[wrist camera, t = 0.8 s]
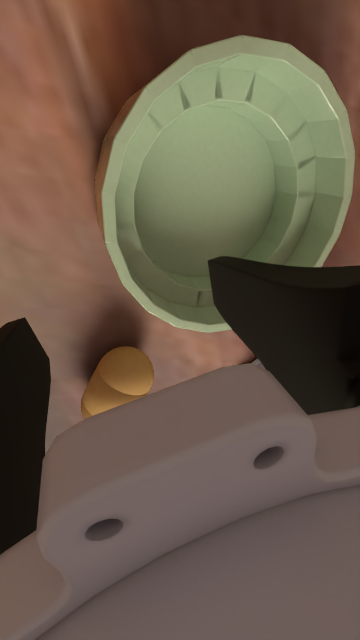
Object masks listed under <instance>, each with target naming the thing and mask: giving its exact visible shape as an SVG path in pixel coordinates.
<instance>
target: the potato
mask: <svg viewBox="0 0 360 640" xmlns="http://www.w3.org/2000/svg"><path fill="white" fill-rule="evenodd" d="M153 378H154V370H153V366H152V363H151V361H150V359H149V358H148V356H147V355H146V354H145V353H143V352H142V351H141V350H139V349H137V348H134V347H129V346H123V347H118V348H115V349H113V350H111V351H109V352H107V353H106V354H105V355H104V356H103V357H102V359H101V360H100V362H99V364H98V366H97V368H96V370H95V372H94V374H93V376H92V378H91V380H90V382H89V384H88V386H87V388H86V390H85V392H84V394H83V397H82V400H81V411H82V415H83V418H84V419H86V418H88V417H91V416H93V415H96V414H99V413H101V412H104V411H107V410H109V409H112V408H115V407H117V406H120V405H123V404H125V403H128V402H131V401H133V400H136V399H139V398H141V397H144V396H146V395H147V393H148V392H149V390H150V388H151V385H152V383H153Z"/></svg>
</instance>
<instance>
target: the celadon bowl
mask: <svg viewBox="0 0 360 640" xmlns="http://www.w3.org/2000/svg"><path fill="white" fill-rule="evenodd" d="M346 110H347V109H346V107H345V105H344V103H343V102H342V100H341V98H340V96H339V95H338V93H337V91H336V89H335V87H334V86H333V84H332V82H331V80H330V79H329V77H328V75H327V73H326V72H325V70H324V69H322V68H321V67H320V66H319V65H317V64H316V63H315V62H313V61H312V60H311V59H309V58H308V57H307V56H305V55H304V54H303V53H302V52H300V51H299V50H298V49H296V48H295V47H294V46H292V45H291V44H288V43H286V42H280V41H275V40H270V39H264V38H259V37H253V36H248V35H237V36H234V37H230V38H227V39H223V40H220V41H217V42H213V43H210V44H206V45H203V46H199V47H196V48H192V49H191V50H188V51H187V52H186V53H184V54H183V55H182V56H181V57H179V58H178V59H177V60H176V61H174V62H173V63H172V64H171V65H169V66H168V67H167V68H165V69H164V70H163V71H162V72H160V73H159V74H158V75H157V76H155V77H154V78H153V79H152V80H151V81H149V82H148V83H147V84H146V85H144V86H143V87H142V88H141V89H140V90H138V91H137V92H136V93H135V94H133V95H132V96H131V97H130V98H129V99H128V100H127V101H126V102H125V103H124V105H123V107H122V109H121V110H120V112H119V114H118V115H117V117H116V119H115V120H114V122H113V124H112V125H111V127H110V129H109V131H108V132H107V134H106V136H105V137H104V140H103V143H102V148H101V152H100V157H99V161H98V166H97V171H96V175H95V180H94V187H95V198H96V209H97V221H98V224H99V227H100V230H101V233H102V236H103V239H104V242H105V245H106V247H107V250H108V252H109V255H110V257H111V259H112V262H113V264H114V266H115V269H116V271H117V274H118V276H119V278H120V281H121V283H122V284H123V285H124V287H125V288H126V289H127V290H128V291H129V292H130V293H131V294H132V295H133V297H134V298H135V299H136V300H137V301H138V302H139V303H140V304H141V306H142V307H143V308H144V309H145V310H146V311H147V312H149V313H151V314H153V315H155V316H156V317H158V318H160V319H162V320H164V321H166V322H168V323H169V324H171V325H173V326H175V327H178V328H184V329H190V330H196V331H202V332H208V333H209V332H217V331H224V330H232V329H231V327H230V326H229V325H228V324H227V323H226V322H225V321H224V319H223V318H222V316H221V315H220V313H219V311H218V310H217V308H216V306H215V305H214V302H213V295H212V288H211V281H210V274H209V267H208V261H207V260H210V259H214V258H217V257H220V256H230V257H236V258H242V259H247V260H253V261H258V262H264V263H270V264H278V265H286V266H298V267H322V265H323V264H324V262H325V260H326V258H327V256H328V255H329V253H330V251H331V249H332V248H333V246H334V244H335V242H336V241H337V239H338V237H339V235H340V233H341V229H342V226H343V223H344V220H345V217H346V214H347V211H348V207H349V204H350V201H351V198H352V190H353V177H354V165H355V149H354V143H353V138H352V133H351V127H350V122H349V117H348V112H347V111H346Z"/></svg>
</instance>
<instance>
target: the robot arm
mask: <svg viewBox="0 0 360 640" xmlns="http://www.w3.org/2000/svg"><path fill="white" fill-rule="evenodd" d="M207 261H208V267H209V274H210V281H211V288H212V295H213V302H214V305H215V306H216V308H217V310H218V311H219V313H220V315H221V316H222V318H223V319H224V321H225V322H226V323H227V324H228V325H229V326H230V327H231V329H232V330H233V331H234V332H235V333H236V334H237V335H238V336H239V338H240V339H241V340H242V341H243V342H244V343H245V344H246V345H247V347H248V348H249V349H250V350H251V351H252V352H253V353H254V354H255V356H256V357H257V359H256V360H255V361H253V362H252V363H251V364H250V363H248V364H241V365H235V366H229V367H222V368H219V369H216V370H213V371H211V372H208V373H205V374H203V375H200V376H197V377H195V378H192V379H189V380H187V381H184V382H181V383H179V384H176V385H173V386H171V387H168V388H165V389H163V390H160V391H157V392H155V393H152V394H149V395H147V396H144V397H141V398H139V399H136V400H133V401H131V402H128V403H125V404H123V405H120V406H117V407H115V408H112V409H109V410H107V411H104V412H101V413H99V414H96V415H93V416H91V417H88V418H86V419H84V420H83V421H81V422H79V423H78V424H76V425H74V426H73V427H71V428H69V429H68V430H66V431H64V432H63V433H61V434H60V435H58V436H57V437H56V438H55V440H54V442H53V443H52V445H51V447H50V448H49V450H48V452H47V453H46V455H45V433H46V423H47V414H48V405H49V395H50V384H51V375H50V362H49V358H48V356H47V354H46V353H45V351H44V349H43V347H42V346H41V344H40V342H39V341H38V339H37V337H36V335H35V334H34V332H33V330H32V329H31V327H30V325H29V323H28V322H27V320H26V318H25V317H24V318H21V319H18V320H15V321H12V322H8V323H7V324H5V325H4V326H2V327H1V328H0V640H360V265H359V266H345V267H298V266H286V265H278V264H270V263H264V262H258V261H253V260H247V259H242V258H236V257H230V256H220V257H217V258H214V259H210V260H207Z"/></svg>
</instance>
